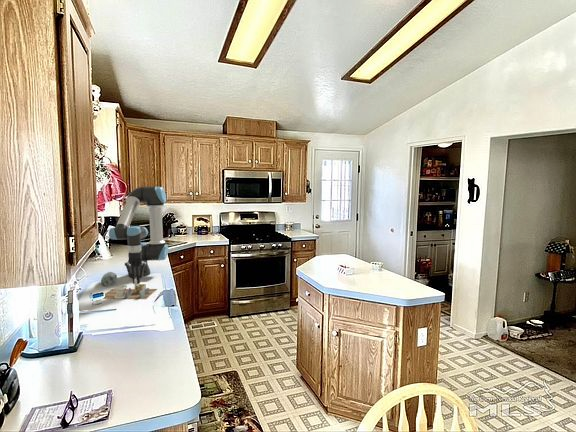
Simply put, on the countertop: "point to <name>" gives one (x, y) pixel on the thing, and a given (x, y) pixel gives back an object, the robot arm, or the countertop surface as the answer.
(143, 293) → the notch block
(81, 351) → the countertop surface
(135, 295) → the board
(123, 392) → the countertop surface
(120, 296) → the bobbin
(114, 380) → the countertop surface
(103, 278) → the spool
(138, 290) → the tab
